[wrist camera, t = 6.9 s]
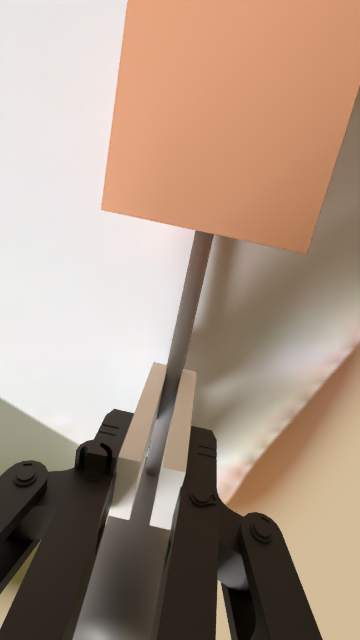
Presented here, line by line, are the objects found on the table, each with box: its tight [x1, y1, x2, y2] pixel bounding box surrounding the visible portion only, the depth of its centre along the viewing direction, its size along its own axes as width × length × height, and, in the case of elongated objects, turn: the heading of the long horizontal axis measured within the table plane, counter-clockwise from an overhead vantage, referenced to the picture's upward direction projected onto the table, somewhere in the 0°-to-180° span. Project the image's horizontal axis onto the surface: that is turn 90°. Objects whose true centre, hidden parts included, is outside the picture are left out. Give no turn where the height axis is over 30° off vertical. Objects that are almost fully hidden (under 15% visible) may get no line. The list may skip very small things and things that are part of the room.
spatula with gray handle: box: [73, 0, 360, 640], centre depth 13 cm, size 22×6×8 cm, turn 169°
